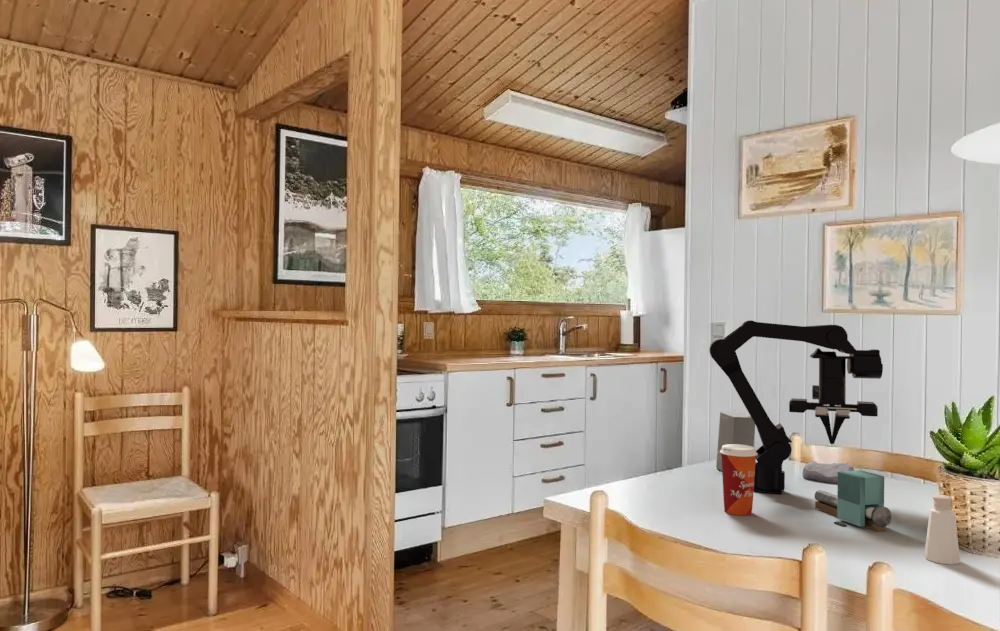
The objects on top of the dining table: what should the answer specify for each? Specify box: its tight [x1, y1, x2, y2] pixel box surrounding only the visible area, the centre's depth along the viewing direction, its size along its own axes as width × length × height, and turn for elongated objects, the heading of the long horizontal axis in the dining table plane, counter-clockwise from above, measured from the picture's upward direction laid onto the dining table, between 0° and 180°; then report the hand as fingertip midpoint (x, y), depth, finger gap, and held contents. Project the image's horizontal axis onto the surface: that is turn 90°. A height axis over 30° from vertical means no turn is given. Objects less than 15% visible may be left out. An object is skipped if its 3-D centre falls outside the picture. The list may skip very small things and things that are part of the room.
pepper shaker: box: [923, 494, 961, 566], centre depth 124 cm, size 5×5×11 cm
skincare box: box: [715, 411, 756, 472], centre depth 193 cm, size 8×7×16 cm
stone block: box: [802, 460, 855, 485], centre depth 186 cm, size 12×5×10 cm
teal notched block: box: [836, 469, 885, 527], centre depth 146 cm, size 6×6×10 cm
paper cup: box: [720, 444, 758, 517], centre depth 154 cm, size 8×8×14 cm
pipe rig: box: [814, 489, 892, 532], centre depth 149 cm, size 18×11×5 cm, turn 17°
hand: (832, 443), depth 169 cm, fingers closed
